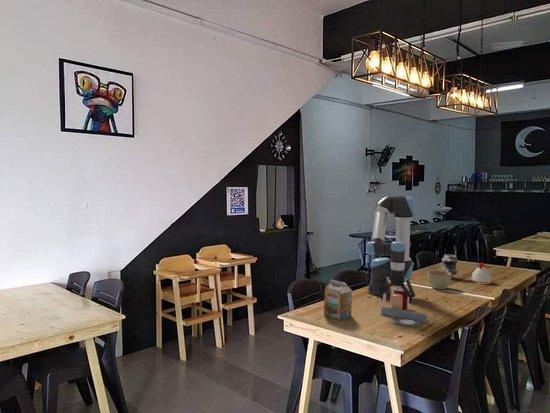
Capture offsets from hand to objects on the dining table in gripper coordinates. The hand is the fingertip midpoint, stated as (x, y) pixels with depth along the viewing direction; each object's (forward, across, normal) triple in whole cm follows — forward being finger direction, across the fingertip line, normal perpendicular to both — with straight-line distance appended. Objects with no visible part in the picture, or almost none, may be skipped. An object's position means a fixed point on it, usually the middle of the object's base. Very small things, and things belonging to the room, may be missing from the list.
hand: (396, 307), depth 239 cm
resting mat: (+4, +10, -14) cm, 17 cm away
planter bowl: (+3, +8, +77) cm, 78 cm away
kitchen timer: (+2, +31, +115) cm, 119 cm away
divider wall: (+3, +6, -7) cm, 10 cm away
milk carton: (+4, -25, -24) cm, 35 cm away
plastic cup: (+3, 0, +11) cm, 12 cm away
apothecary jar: (+2, +8, +116) cm, 117 cm away
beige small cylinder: (+3, 0, 0) cm, 3 cm away
